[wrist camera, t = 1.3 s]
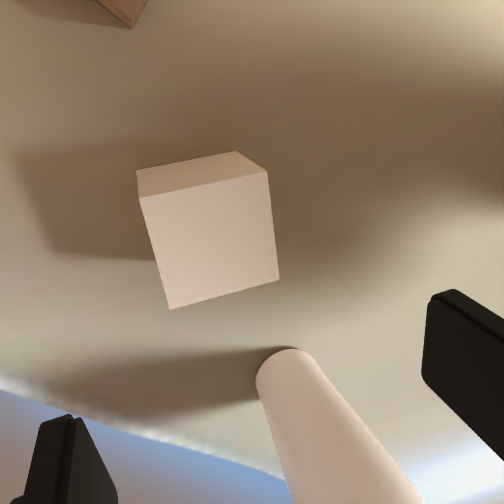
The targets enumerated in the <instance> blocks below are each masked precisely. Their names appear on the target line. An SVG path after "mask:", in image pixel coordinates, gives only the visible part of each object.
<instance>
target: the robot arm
mask: <svg viewBox="0 0 504 504" xmlns="http://www.w3.org/2000/svg"><path fill="white" fill-rule="evenodd" d="M421 374H422V378H423V380H424V381H425V383H426V384H427V385H428V386H429V387H430V388H431V389H432V390H433V391H434V392H435V393H436V394H437V395H438V396H439V397H440V398H441V399H442V400H443V401H444V402H445V403H446V404H447V405H448V406H449V407H450V408H451V409H452V410H453V411H454V412H455V413H456V414H457V415H458V416H459V417H460V418H461V419H462V420H463V421H464V422H465V423H466V424H467V425H468V426H469V427H470V428H471V429H472V430H473V431H474V432H475V433H476V434H477V435H478V436H479V437H480V438H481V439H482V440H483V441H484V442H485V443H486V444H487V445H488V446H489V447H490V448H491V449H492V450H493V451H494V452H495V453H496V454H497V455H498V456H499V457H500V458H501V459H502V460H503V461H504V319H503V318H501V317H500V316H498V315H497V314H495V313H493V312H492V311H490V310H489V309H487V308H485V307H484V306H482V305H481V304H479V303H477V302H476V301H474V300H473V299H471V298H469V297H468V296H466V295H465V294H463V293H461V292H460V291H458V290H456V289H450V290H447V291H444V292H441V293H438V294H435V295H433V296H432V297H431V301H430V302H429V303H428V306H427V315H426V326H425V337H424V347H423V358H422V369H421ZM10 504H118V496H117V491H116V488H115V485H114V483H113V481H112V479H111V478H110V475H109V473H108V471H107V469H106V467H105V465H104V463H103V461H102V459H101V457H100V455H99V452H98V451H97V448H96V446H95V444H94V442H93V440H92V438H91V436H90V434H89V432H88V430H87V428H86V426H85V424H84V422H83V420H82V418H80V417H79V418H76V419H74V418H73V417H72V415H70V414H67V415H64V416H61V417H58V418H55V419H52V420H48V421H45V422H43V423H42V424H41V425H40V428H39V431H38V435H37V440H36V444H35V448H34V453H33V457H32V461H31V465H30V470H29V474H28V478H27V482H26V487H25V491H24V495H22V496H20V497H17V498H15V499H13V500H12V502H11V503H10Z"/></svg>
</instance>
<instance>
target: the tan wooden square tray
mask: <svg viewBox="0 0 504 504" xmlns="http://www.w3.org/2000/svg"><path fill="white" fill-rule="evenodd" d="M95 1H97V2H98V3H99V4H101V5H102V6H103V7H104V8H106V9H107V10H108V11H109V12H111V13H112V14H113V15H114V16H116V17H117V18H118V19H120V20H121V21H122V22H123V23H125V24H126V25H127V26H128V27H130V28H131V29H132V27H133V26H134V24H135V22H136V20H137V19H138V17H139V15H140V13H141V12H142V10H143V8H144V6H145V5H146V3H147V1H148V0H95Z"/></svg>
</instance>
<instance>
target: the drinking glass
mask: <svg viewBox="0 0 504 504" xmlns="http://www.w3.org/2000/svg"><path fill="white" fill-rule="evenodd" d="M256 389H257V392H258V395H259V397H260V400H261V402H262V405H263V408H264V411H265V414H266V417H267V421H268V424H269V427H270V430H271V434H272V437H273V440H274V444H275V447H276V450H277V454H278V457H279V461H280V464H281V467H282V471H283V474H284V478H285V481H286V484H287V488H288V491H289V495H290V498H291V501H292V504H426V503H425V502H424V500H423V499H422V497H421V496H420V494H419V493H418V491H417V490H416V488H415V487H414V486H413V484H412V483H411V481H410V480H409V479H408V477H407V476H406V474H405V473H404V472H403V470H402V469H401V468H400V466H399V465H398V464H397V462H396V461H395V460H394V459H393V457H392V456H391V455H390V453H389V452H388V451H387V450H386V449H385V447H384V446H383V445H382V444H381V442H380V441H379V440H378V439H377V438H376V436H375V435H374V434H373V433H372V432H371V430H370V429H369V428H368V427H367V425H366V424H365V423H364V422H363V421H362V419H361V418H360V417H359V416H358V415H357V413H356V412H355V411H354V410H353V409H352V407H351V406H350V405H349V404H348V402H347V401H346V400H345V399H344V398H343V396H342V395H341V394H340V393H339V391H338V390H337V389H336V388H335V387H334V385H333V384H332V383H331V382H330V380H329V379H328V378H327V377H326V375H325V374H324V373H323V372H322V370H321V369H320V367H319V366H318V364H317V363H316V361H315V360H314V358H313V357H312V356H311V355H310V354H308V353H307V352H305V351H303V350H299V349H286V350H282V351H279V352H277V353H275V354H273V355H271V356H270V357H269V358H268V359H266V360H265V361H264V363H263V364H262V365H261V367H260V368H259V370H258V372H257V375H256Z"/></svg>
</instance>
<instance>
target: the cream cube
mask: <svg viewBox="0 0 504 504" xmlns="http://www.w3.org/2000/svg"><path fill="white" fill-rule="evenodd" d="M136 174H137V185H138V196H139V201H140V205H141V208H142V212H143V215H144V219H145V223H146V226H147V230H148V233H149V237H150V240H151V244H152V248H153V251H154V255H155V258H156V262H157V266H158V269H159V273H160V276H161V280H162V283H163V287H164V291H165V294H166V298H167V301H168V305H169V309H170V310H171V309H175V308H179V307H182V306H186V305H190V304H193V303H197V302H200V301H204V300H208V299H211V298H215V297H219V296H222V295H226V294H230V293H233V292H237V291H240V290H244V289H248V288H251V287H255V286H259V285H262V284H266V283H270V282H273V281H277V280H280V279H279V270H278V261H277V252H276V244H275V235H274V226H273V218H272V209H271V200H270V191H269V183H268V174H267V171H266V170H264V169H263V168H261V167H260V166H258V165H257V164H255V163H254V162H252V161H251V160H249V159H248V158H246V157H245V156H243V155H242V154H240V153H238V152H237V151H232V152H227V153H222V154H217V155H212V156H207V157H201V158H196V159H191V160H186V161H181V162H176V163H171V164H166V165H161V166H155V167H150V168H145V169H140V170H136Z"/></svg>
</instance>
